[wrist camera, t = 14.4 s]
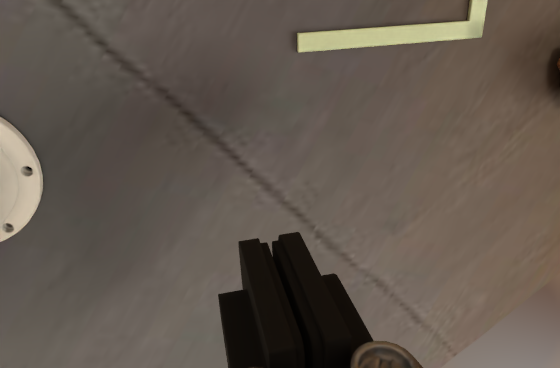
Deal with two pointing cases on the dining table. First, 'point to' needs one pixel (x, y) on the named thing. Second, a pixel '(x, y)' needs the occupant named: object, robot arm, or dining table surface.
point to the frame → (396, 33)
